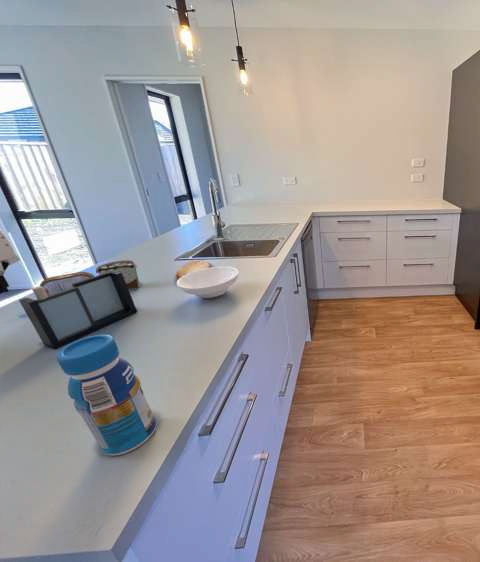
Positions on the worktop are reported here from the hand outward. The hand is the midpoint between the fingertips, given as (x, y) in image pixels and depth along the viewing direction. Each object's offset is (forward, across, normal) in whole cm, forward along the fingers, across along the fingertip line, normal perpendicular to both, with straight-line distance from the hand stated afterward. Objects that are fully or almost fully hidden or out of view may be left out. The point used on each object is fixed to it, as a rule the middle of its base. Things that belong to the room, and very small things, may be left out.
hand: (1, 292), depth 70 cm
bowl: (+18, -42, +14) cm, 48 cm away
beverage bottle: (+19, +7, +49) cm, 52 cm away
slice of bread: (+18, -54, -12) cm, 58 cm away
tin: (+18, -23, -34) cm, 45 cm away
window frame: (+18, -13, -1) cm, 23 cm away
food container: (+18, -35, -24) cm, 46 cm away
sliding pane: (+16, -9, 0) cm, 19 cm away
